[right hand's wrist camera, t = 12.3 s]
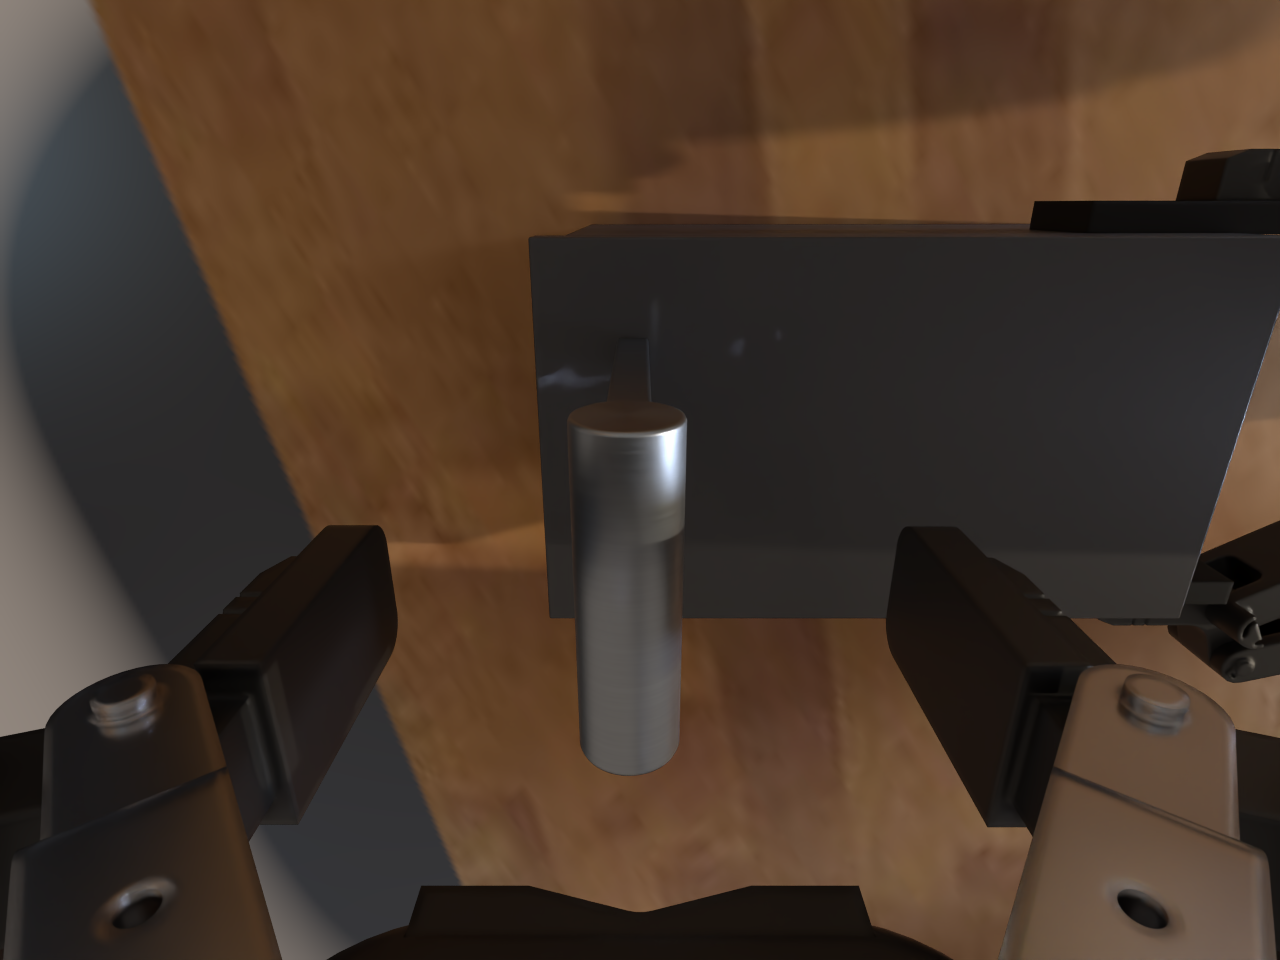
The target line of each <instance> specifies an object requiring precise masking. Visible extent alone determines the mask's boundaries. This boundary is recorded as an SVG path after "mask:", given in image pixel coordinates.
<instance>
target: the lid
mask: <svg viewBox="0 0 1280 960" xmlns="http://www.w3.org/2000/svg"><path fill="white" fill-rule="evenodd" d="M529 258H530V276H531V294H532V312H533V329H534V347H535V365H536V383H537V401H538V419H539V436H540V454H541V472H542V490H543V508H544V526H545V543H546V561H547V579H548V597H549V615H550V618H575V630H576V655H577V679H578V704H579V729H580V744H581V748H582V751H583V752H584V754H585V756H586V757H587V758H588V760H589V761H590V762H591V763H592V764H593V765H595V766H596V767H598V768H599V769H601V770H603V771H606V772H608V773H612V774H616V775H622V776H636V775H642V774H646V773H650V772H652V771H655V770H657V769H659V768H661V767H662V766H664V765H665V764H666V763H667V762H668V761H669V760H670V759H671V758H672V757H673V755H674V754H675V752H676V750H677V748H678V745H679V730H680V689H681V648H682V618H886V615H887V607H888V601H889V594H890V588H891V581H892V574H893V568H894V561H895V554H896V548H897V542H898V538H899V535H900V533H901V531H902V529H903V528H904V527H906V526H955V527H958V528H959V529H960V530H961V531H962V532H963V533H964V534H965V535H966V536H967V537H968V538H969V539H970V540H971V541H972V542H973V543H974V544H975V545H976V546H977V547H978V548H979V549H980V550H981V551H982V552H983V553H984V554H985V555H986V556H987V557H988V558H995V559H997V560H999V561H1000V562H1002V563H1004V564H1006V565H1008V566H1010V567H1011V568H1013V569H1015V570H1017V571H1019V572H1021V573H1022V574H1024V575H1025V576H1026V577H1027V578H1029V579H1030V580H1031V581H1032V582H1033V583H1034V584H1035V585H1036V586H1037V587H1038V588H1039V589H1040V590H1041V591H1042V592H1043V593H1044V594H1045V599H1050V600H1051V601H1052V602H1053V603H1054V604H1055V605H1056V606H1057V607H1058V608H1059V609H1060V610H1061V611H1062V615H1063V616H1068V617H1069V618H1179V617H1180V614H1181V611H1182V608H1183V605H1184V602H1185V599H1186V596H1187V593H1188V590H1189V586H1190V583H1191V580H1192V577H1193V574H1194V571H1195V568H1196V565H1197V562H1198V559H1199V556H1200V553H1201V550H1202V547H1203V544H1204V540H1205V537H1206V534H1207V531H1208V528H1209V525H1210V522H1211V519H1212V516H1213V513H1214V510H1215V507H1216V504H1217V501H1218V497H1219V494H1220V491H1221V488H1222V485H1223V482H1224V479H1225V476H1226V473H1227V470H1228V467H1229V464H1230V461H1231V458H1232V455H1233V451H1234V448H1235V445H1236V442H1237V439H1238V436H1239V433H1240V430H1241V427H1242V424H1243V421H1244V418H1245V415H1246V412H1247V408H1248V405H1249V402H1250V399H1251V396H1252V393H1253V390H1254V387H1255V384H1256V381H1257V378H1258V375H1259V372H1260V369H1261V366H1262V362H1263V359H1264V356H1265V353H1266V350H1267V347H1268V344H1269V341H1270V338H1271V335H1272V332H1273V329H1274V326H1275V323H1276V320H1277V316H1278V313H1279V310H1280V235H674V236H533V237H530V238H529Z"/></svg>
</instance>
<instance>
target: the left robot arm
mask: <svg viewBox="0 0 1280 960" xmlns="http://www.w3.org/2000/svg"><path fill="white" fill-rule="evenodd" d="M1029 230H1045V231H1060V232H1076V233H1242V234H1280V149H1245V150H1234V151H1223V152H1212V153H1206V154H1203V155H1201V156H1198V157H1196V158H1193V159H1191V160H1188V161H1186V163H1185V167H1184V171H1183V175H1182V179H1181V182H1180V186H1179V190H1178V194H1177V198H1176V201H1035V202H1034V207H1033V213H1032V218H1031V223H1030V228H1029ZM1097 619H1098V620H1101V621H1103V622H1106V623H1109V624H1111V625H1131V624H1132V625H1144V624H1145V625H1168V632H1169V634H1170V635H1171V636H1173V637H1174V638H1175V639H1176V640H1177V641H1179V642H1180V643H1181V644H1182V645H1183V646H1185V647H1186V648H1187V649H1188V650H1189V651H1191V652H1192V653H1193V654H1194V655H1196V656H1197V657H1198V658H1199V659H1201V660H1202V661H1203V662H1204V663H1205V664H1207V665H1208V666H1209V667H1210V668H1212V669H1213V670H1214V671H1216V672H1217V673H1218V674H1219V675H1221V676H1222V677H1223V678H1224V679H1225V680H1227V681H1229V682H1232V683H1239V682H1245V681H1250V680H1255V679H1260V678H1265V677H1270V676H1275V675H1280V521H1277V522H1275V523H1273V524H1270V525H1268V526H1266V527H1263V528H1261V529H1258V530H1256V531H1254V532H1251V533H1249V534H1247V535H1244V536H1242V537H1240V538H1237V539H1235V540H1233V541H1230V542H1228V543H1225V544H1223V545H1221V546H1218V547H1216V548H1214V549H1211V550H1209V551H1207V552H1204V553H1202V554H1200V556H1199V559H1198V562H1197V565H1196V568H1195V571H1194V574H1193V577H1192V580H1191V583H1190V586H1189V590H1188V593H1187V596H1186V599H1185V602H1184V605H1183V608H1182V611H1181V614H1180V617H1179V618H1097Z"/></svg>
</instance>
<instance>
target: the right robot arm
mask: <svg viewBox="0 0 1280 960" xmlns="http://www.w3.org/2000/svg"><path fill="white" fill-rule="evenodd" d="M397 627H398V617H397V608H396V601H395V595H394V588H393V581H392V574H391V568H390V561H389V554H388V547H387V541H386V537H385V534H384V532H383V530H382V528H381V527H380V526H378V525H329V526H326V527H325V528H324V529H323V530H322V531H321V532H320V533H319V534H318V535H317V536H316V537H315V538H314V539H313V540H312V541H311V542H310V544H309V545H308V546H307V547H306V548H305V549H304V550H303V551H302V552H301V553H300V554H299V555H298V556H291V557H289V558H287V559H286V560H284V561H282V562H280V563H278V564H276V565H275V566H273V567H271V568H269V569H267V570H265V571H264V572H262V573H260V574H259V575H258V576H257V577H256V578H255V579H254V580H253V581H252V582H251V583H250V584H249V585H248V586H247V587H246V588H245V589H244V590H243V591H242V592H241V593H240V597H236V598H235V599H234V600H233V601H232V602H230V603H229V605H227V606H226V607H225V608H224V609H223V614H218V615H217V616H216V617H215V618H214V619H213V620H212V621H211V622H210V623H209V624H208V625H207V626H206V627H205V628H204V629H203V630H202V631H201V632H200V633H199V634H198V635H197V636H196V637H195V638H194V639H193V640H192V641H191V642H190V643H189V644H188V645H187V646H186V647H185V648H184V649H183V650H182V651H180V652H179V653H178V654H177V655H176V656H175V657H174V658H173V659H172V660H171V661H170V662H169V663H168V664H159V665H150V666H144V667H139V668H135V669H131V670H128V671H124V672H121V673H118V674H115V675H113V676H110V677H107V678H105V679H103V680H100V681H98V682H96V683H94V684H92V685H90V686H88V687H86V688H85V689H83V690H81V691H80V692H78V693H76V694H75V695H73V696H72V697H71V698H69V699H68V700H67V701H65V702H64V703H63V704H62V705H61V706H60V707H59V708H58V709H56V711H55V712H54V713H53V714H52V715H51V717H50V718H49V720H48V722H47V724H46V727H45V728H43V729H38V730H33V731H28V732H23V733H18V734H13V735H8V736H3V737H0V960H282V958H281V954H280V951H279V947H278V944H277V940H276V936H275V933H274V929H273V926H272V922H271V919H270V915H269V912H268V908H267V905H266V901H265V898H264V894H263V891H262V887H261V884H260V880H259V877H258V873H257V870H256V866H255V863H254V859H253V856H252V852H251V849H250V845H249V841H250V839H251V837H252V836H253V834H254V832H255V831H256V829H257V827H258V826H259V825H298V824H299V822H300V820H301V818H302V816H303V815H304V813H305V811H306V809H307V807H308V806H309V804H310V802H311V800H312V798H313V796H314V795H315V793H316V791H317V789H318V787H319V786H320V784H321V782H322V780H323V778H324V776H325V775H326V773H327V771H328V769H329V767H330V765H331V764H332V762H333V760H334V758H335V756H336V755H337V753H338V751H339V749H340V747H341V745H342V744H343V742H344V740H345V738H346V736H347V734H348V733H349V731H350V729H351V727H352V725H353V723H354V722H355V720H356V718H357V716H358V714H359V713H360V711H361V709H362V707H363V705H364V703H365V702H366V700H367V698H368V696H369V694H370V693H371V691H372V689H373V687H374V685H375V683H376V682H377V680H378V678H379V676H380V674H381V672H382V671H383V669H384V667H385V665H386V663H387V662H388V660H389V658H390V656H391V654H392V652H393V649H394V646H395V642H396V637H397ZM886 632H887V640H888V644H889V648H890V651H891V654H892V656H893V658H894V660H895V661H896V663H897V665H898V667H899V669H900V670H901V672H902V674H903V676H904V678H905V679H906V681H907V683H908V685H909V687H910V688H911V690H912V692H913V694H914V696H915V697H916V699H917V701H918V703H919V705H920V706H921V708H922V710H923V712H924V714H925V715H926V717H927V719H928V721H929V723H930V724H931V726H932V728H933V730H934V732H935V733H936V735H937V737H938V739H939V741H940V742H941V744H942V746H943V748H944V750H945V751H946V753H947V755H948V757H949V759H950V760H951V762H952V764H953V766H954V768H955V769H956V771H957V773H958V775H959V777H960V778H961V780H962V782H963V784H964V786H965V787H966V789H967V791H968V793H969V795H970V796H971V798H972V800H973V802H974V804H975V805H976V807H977V809H978V811H979V813H980V814H981V816H982V818H983V820H984V822H985V823H986V825H987V827H1027V828H1028V830H1029V832H1030V833H1031V835H1032V836H1033V838H1032V842H1031V845H1030V849H1029V852H1028V856H1027V859H1026V863H1025V866H1024V870H1023V873H1022V877H1021V880H1020V884H1019V887H1018V891H1017V894H1016V898H1015V901H1014V905H1013V908H1012V912H1011V915H1010V919H1009V922H1008V926H1007V929H1006V933H1005V936H1004V940H1003V943H1002V947H1001V950H1000V954H999V958H998V960H1280V738H1277V737H1272V736H1267V735H1262V734H1257V733H1252V732H1247V731H1241V730H1237V729H1235V727H1234V724H1233V722H1232V720H1231V718H1230V717H1229V715H1228V714H1227V713H1226V712H1225V711H1224V709H1222V708H1221V707H1220V706H1219V705H1218V704H1217V703H1216V702H1215V701H1213V700H1212V699H1211V698H1209V697H1208V696H1207V695H1205V694H1204V693H1202V692H1200V691H1199V690H1197V689H1195V688H1194V687H1192V686H1190V685H1188V684H1186V683H1184V682H1182V681H1180V680H1177V679H1175V678H1173V677H1170V676H1168V675H1165V674H1162V673H1159V672H1156V671H1152V670H1149V669H1145V668H1141V667H1135V666H1130V665H1121V664H1116V663H1115V662H1114V661H1113V660H1112V659H1111V658H1110V657H1109V656H1108V655H1107V654H1106V653H1105V652H1104V651H1103V650H1102V649H1101V648H1100V647H1099V646H1098V645H1096V644H1095V643H1094V642H1093V641H1092V640H1091V639H1090V638H1089V637H1088V636H1087V635H1086V634H1085V633H1084V632H1083V631H1082V630H1081V629H1080V628H1079V627H1078V626H1077V625H1076V624H1075V623H1074V622H1073V621H1072V620H1071V619H1070V618H1069V617H1068V616H1063V615H1062V611H1061V610H1060V609H1059V608H1058V607H1057V606H1056V605H1055V604H1054V603H1053V602H1052V601H1051V600H1050V599H1045V594H1044V593H1043V592H1042V591H1041V590H1040V589H1039V588H1038V587H1037V586H1036V585H1035V584H1034V583H1033V582H1032V581H1031V580H1030V579H1029V578H1027V577H1026V576H1025V575H1024V574H1022V573H1021V572H1019V571H1017V570H1015V569H1013V568H1011V567H1010V566H1008V565H1006V564H1004V563H1002V562H1000V561H999V560H997V559H995V558H988V557H987V556H986V555H985V554H984V553H983V552H982V551H981V550H980V549H979V548H978V547H977V546H976V545H975V544H974V543H973V542H972V541H971V540H970V539H969V538H968V537H967V536H966V535H965V534H964V533H963V532H962V531H961V530H960V529H959V528H958V527H955V526H906V527H904V528H903V529H902V531H901V533H900V535H899V538H898V542H897V548H896V554H895V561H894V568H893V574H892V581H891V588H890V594H889V601H888V607H887V615H886ZM327 960H953V959H951V958H950V957H948V956H946V955H945V954H943V953H941V952H939V951H937V950H935V949H933V948H931V947H929V946H927V945H924V944H922V943H920V942H918V941H916V940H914V939H912V938H909V937H906V936H903V935H901V934H898V933H895V932H892V931H890V930H887V929H884V928H880V927H876V926H872V925H871V923H870V920H869V917H868V913H867V910H866V907H865V904H864V901H863V898H862V895H861V891H860V888H859V886H748V887H745V888H741V889H737V890H733V891H729V892H725V893H721V894H717V895H713V896H709V897H705V898H701V899H697V900H693V901H689V902H685V903H681V904H677V905H673V906H669V907H665V908H662V909H658V910H654V911H648V912H632V911H626V910H622V909H618V908H615V907H611V906H607V905H603V904H599V903H595V902H591V901H587V900H583V899H579V898H575V897H571V896H567V895H563V894H559V893H555V892H551V891H547V890H543V889H539V888H535V887H532V886H421V888H420V891H419V895H418V898H417V901H416V904H415V907H414V910H413V913H412V917H411V920H410V923H409V925H408V926H404V927H400V928H396V929H393V930H390V931H388V932H385V933H382V934H379V935H377V936H374V937H371V938H369V939H366V940H364V941H362V942H360V943H358V944H356V945H353V946H351V947H349V948H347V949H345V950H343V951H341V952H339V953H337V954H336V955H334V956H332V957H330V958H329V959H327Z"/></svg>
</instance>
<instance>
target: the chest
mask: <svg viewBox="0 0 1280 960" xmlns="http://www.w3.org/2000/svg"><path fill="white" fill-rule="evenodd" d="M1029 228H1030V224H682V225H589V226H587V227H585V228H582V229H580V230H578V231H575V232H573V233H570V234H568V235H566V236H674V235H1262V234H1242V233H1076V232H1060V231H1045V230H1029Z"/></svg>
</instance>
